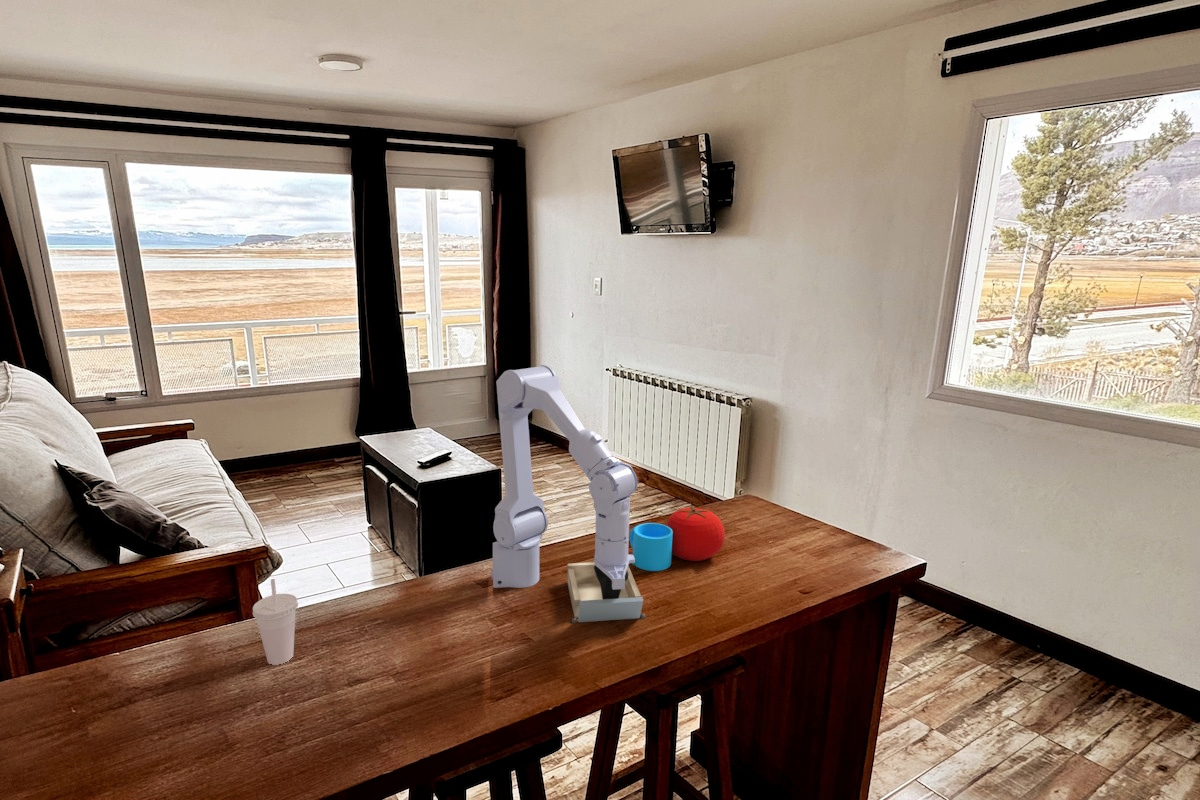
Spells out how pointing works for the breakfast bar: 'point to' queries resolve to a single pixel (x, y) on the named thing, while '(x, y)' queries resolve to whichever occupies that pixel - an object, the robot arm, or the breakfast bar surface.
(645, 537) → the mug
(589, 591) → the box
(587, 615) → the panel
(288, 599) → the smoothie
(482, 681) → the breakfast bar surface
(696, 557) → the tomato
